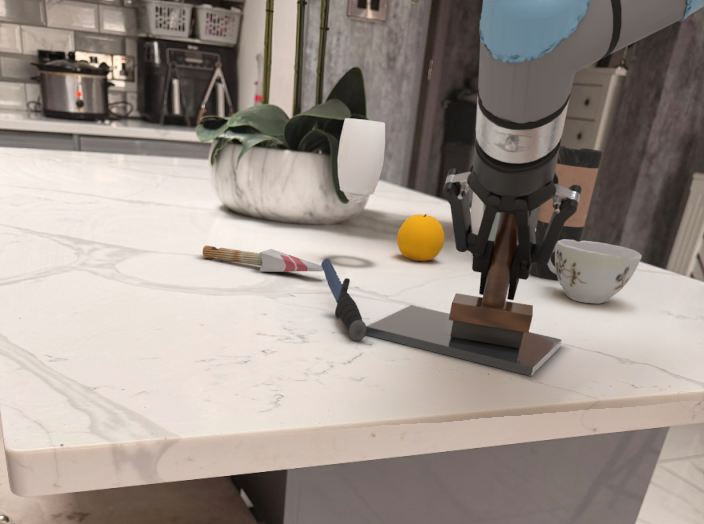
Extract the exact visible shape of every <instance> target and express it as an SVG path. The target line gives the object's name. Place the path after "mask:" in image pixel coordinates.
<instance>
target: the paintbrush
mask: <svg viewBox="0 0 704 524" xmlns="http://www.w3.org/2000/svg"><path fill="white" fill-rule="evenodd" d="M202 256H203V257H204V258H205V259H217V260H219V261H225V262H232V263H239V264H247V265H253V266H259V267H260V269H259V271H258V272H260V273H262V272H264V273H265V272H324V271H323V268H322V266H321V264H318V263H315V262H312V261H309V260H306V259H302V258H299V257H296V256H294V255H291V254H289V253H288V254H287V253H285V252H281V251H278V250H275V249H272V248H270V249H266V250H264V251H260V252H253V251H246V250H241V249H240V250H239V249H232V248H226V247H219V248H217V247H216V246H212V245H204V246H203V248H202Z"/></svg>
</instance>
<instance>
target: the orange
mask: <svg viewBox="0 0 704 524" xmlns="http://www.w3.org/2000/svg"><path fill="white" fill-rule="evenodd" d="M396 237H397V238H396V241H397V242H396V244H397V248H398V250H399V252H400V253H401V254H402V255H403V256H404V257H405V258H407V259H409V260H412V261H419V262H428V261H432V260H433V259H435V258H437V256H438V255H439V254H440V252H441V250H442V249H443V246H444V242H445V232H444V228H443V226H442V224H441V222H440V221H439V220H438V219H437V218H436V217H434V216H432V215H428V214H427V213H425V214H412V215H411V216H409V217H408V218H406V220H405V221H403V223H402V224H401V226H400V227H399V230H398V232H397V236H396Z"/></svg>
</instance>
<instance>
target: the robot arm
mask: <svg viewBox="0 0 704 524" xmlns="http://www.w3.org/2000/svg"><path fill="white" fill-rule="evenodd" d="M702 8H704V0H482V8H481V13H480V19H479V29H478V32H479V37H480V39H479V40H480V41H479V62H478V82H477V83H478V84H477V88H478V90H477V91H478V92H477V99H476V114H475V115H476V116H475V137H474V147H473V148H474V149H473V150H474V151H473V164H472V165H471V166H470V168H469V171H466V172H461V171H460V170H459V169H457V168H450V169H449V170H448V172H447V176H446V178H445V182H444V185H443V188H442V194H443V196H444V197H445V199H446V201H447V202H448V204H449V206H450V214H451V220H452V228H453V235H454V244H455V249H456V250H457V251H458V252H459V253H465V252H467V251H468V252H470V253H471V255H472V262H471V270H472V271H473V272H474V273H475V272H476V273H480V280H479V290H478V291H479V292H478V295H480V296H483V293H484V288H485V284H486V279H487V274H488V269H489V264H490V259H491V254H492V249H493V244H494V241H490V240H488V238H489V235H490V232H491V229H492V225H493V222H494V219H495V216H496V213H497V212H498V213H502V212H507V213H511V214H514V215H516V225H517V227H518V247H517V250H516V253H515V257H514V260H513V264H512V269H511V278H510V283H509V288H508V292H507V297H506V300H509V301H514V300H515V296H516V293H517V289H518V286H519V282H520V280H524V281H526V280H528V279H529V276H530V270H531V265H532V263H533V262H538V263H539V264H541V265H546V264H548V262H549V260H550V257H551V255H552V253H553V250H554V248H555V245H556V243H557V240H558V238H559V236H560V233H561V231H562V228H563V226H564V223H565V221H567V220H568V219H569V218H570V217H571V216H572V215H573V214H574V213H575V212H576V211H577V207H578V203H579V199H580V195H581V191H582V188H581V187H580V186H579V185H572V186H570V187H569V188H566V187H564V186H562V185H560V184H558V182H559V179H558V176H557V174H556V172H555V169H556V164H557V158H558V153H559V148H560V146H561V143H562V136H563V132H564V127H565V123H566V117H567V115H568V113H567V112H568V107H569V103H570V98H571V92H572V88H573V84H574V80H575V76H576V73H578V72H580V71H581V70H582V69H585V68H587V67H589V66H590V65H593V64H595V63H596V62H599V61H601V60H603V59H605V58H606V57H608V56H610V55H612V54H615V53H616V52H619V51H620V50H622V49H624V48H626V47H628V46H630V45H632V44H635V43H637V42H638V41H640V40H642V39H644V38H647V37H649V36H650V35H653V34H655V33H657V32H659V31H661V30H663V29H664V28H667V27H668V26H670V25H672V24H675V23H677V22H679V23H680V22H683V21H685V20H686V19H687V18H688V17H689V16H691V15H692V14H693V13H695V12H697V11H698V10H700V9H702ZM470 189H471V191H472V193H473V192H474V193H475V194H476V195H477V196H478V197H479V199H480V200H481V201H482V202H483V203H484V205H485V206H486V207H485V211H484V214H483V218H482V221H481V225H480V228H479V232H478V235H476V234H474V233H472V223H471V214H470V213H471V204H470V194H469V191H470ZM551 198H553V204H552V206H553V207H554V208H555V209H554V211H553V214H552V217H551V219H550V222H549V224H548V227H547V230H546V232H545V235H544V237H543V240H542V243H537V244H536V240H535V232H536V212H535V209H536V208H537V209H538V208H539V207H541V205H542V204H543V203H545V202H546V201H548V200H549V199H551Z"/></svg>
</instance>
